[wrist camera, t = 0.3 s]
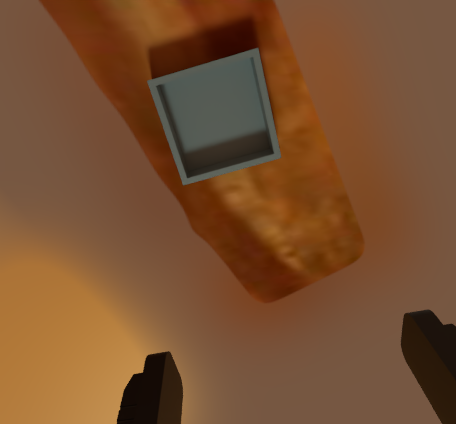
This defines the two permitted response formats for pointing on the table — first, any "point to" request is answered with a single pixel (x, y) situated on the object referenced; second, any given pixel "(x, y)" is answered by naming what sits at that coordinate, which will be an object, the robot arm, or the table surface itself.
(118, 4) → the table surface
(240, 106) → the tray
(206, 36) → the table surface
